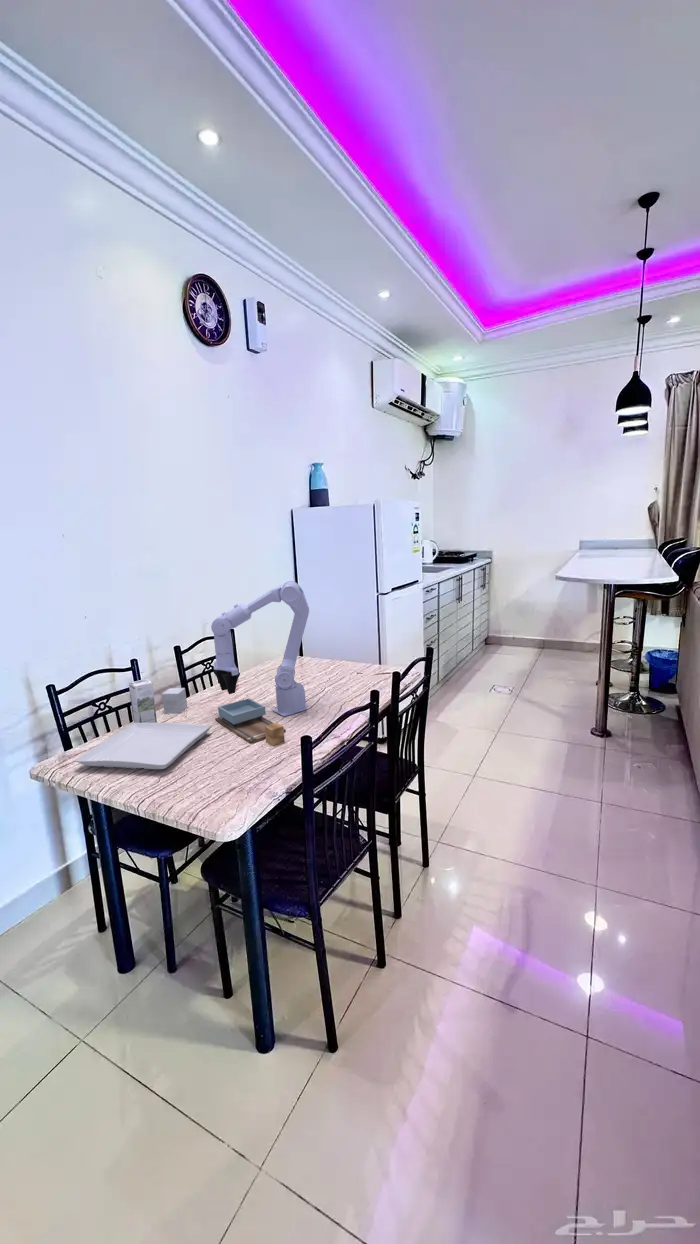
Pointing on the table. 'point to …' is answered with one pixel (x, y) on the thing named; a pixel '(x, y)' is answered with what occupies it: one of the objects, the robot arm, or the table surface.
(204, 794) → the table surface
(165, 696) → the product box
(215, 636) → the robot arm
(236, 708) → the blue storage tray
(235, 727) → the rail board
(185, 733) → the square plate
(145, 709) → the syrup box
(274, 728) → the part block
